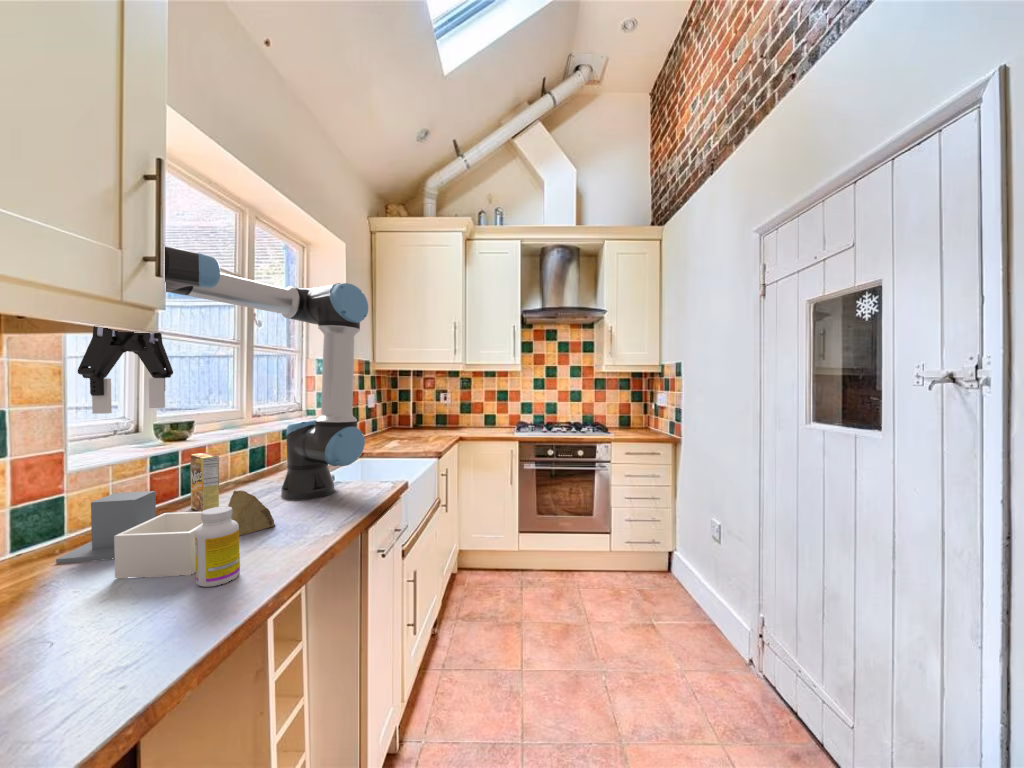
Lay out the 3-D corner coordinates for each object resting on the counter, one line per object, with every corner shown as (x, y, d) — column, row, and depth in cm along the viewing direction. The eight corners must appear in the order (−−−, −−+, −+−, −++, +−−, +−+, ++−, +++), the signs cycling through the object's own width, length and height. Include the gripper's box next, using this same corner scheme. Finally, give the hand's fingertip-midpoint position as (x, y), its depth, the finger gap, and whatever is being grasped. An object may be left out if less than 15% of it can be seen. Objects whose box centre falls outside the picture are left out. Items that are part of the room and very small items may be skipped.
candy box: (190, 508, 119) (188, 454, 119) (207, 504, 122) (206, 452, 122) (202, 514, 114) (201, 457, 114) (220, 510, 117) (219, 455, 117)
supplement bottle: (248, 573, 80) (247, 506, 79) (214, 590, 73) (213, 517, 73) (221, 569, 82) (220, 503, 81) (186, 585, 75) (185, 514, 75)
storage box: (165, 549, 91) (164, 512, 91) (229, 547, 92) (229, 510, 92) (115, 578, 78) (114, 536, 78) (190, 575, 79) (189, 532, 79)
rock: (282, 511, 109) (240, 508, 107) (278, 490, 104) (234, 487, 102) (266, 550, 100) (220, 547, 99) (261, 529, 95) (212, 526, 93)
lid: (110, 536, 99) (108, 489, 99) (183, 531, 102) (182, 485, 102) (56, 565, 84) (54, 509, 84) (143, 557, 87) (142, 504, 87)
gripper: (156, 314, 97) (158, 406, 98) (46, 292, 72) (49, 416, 73) (191, 314, 98) (192, 405, 98) (93, 293, 73) (96, 416, 73)
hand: (131, 410), depth 85 cm, fingers open, 13 cm apart
